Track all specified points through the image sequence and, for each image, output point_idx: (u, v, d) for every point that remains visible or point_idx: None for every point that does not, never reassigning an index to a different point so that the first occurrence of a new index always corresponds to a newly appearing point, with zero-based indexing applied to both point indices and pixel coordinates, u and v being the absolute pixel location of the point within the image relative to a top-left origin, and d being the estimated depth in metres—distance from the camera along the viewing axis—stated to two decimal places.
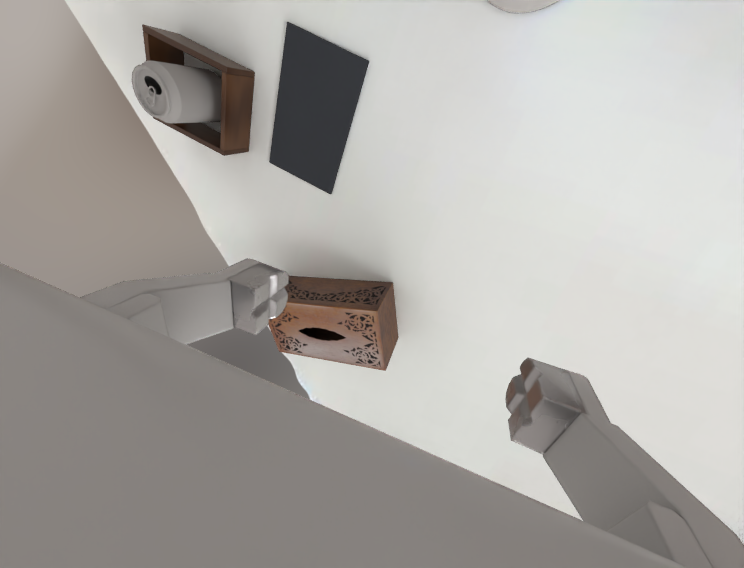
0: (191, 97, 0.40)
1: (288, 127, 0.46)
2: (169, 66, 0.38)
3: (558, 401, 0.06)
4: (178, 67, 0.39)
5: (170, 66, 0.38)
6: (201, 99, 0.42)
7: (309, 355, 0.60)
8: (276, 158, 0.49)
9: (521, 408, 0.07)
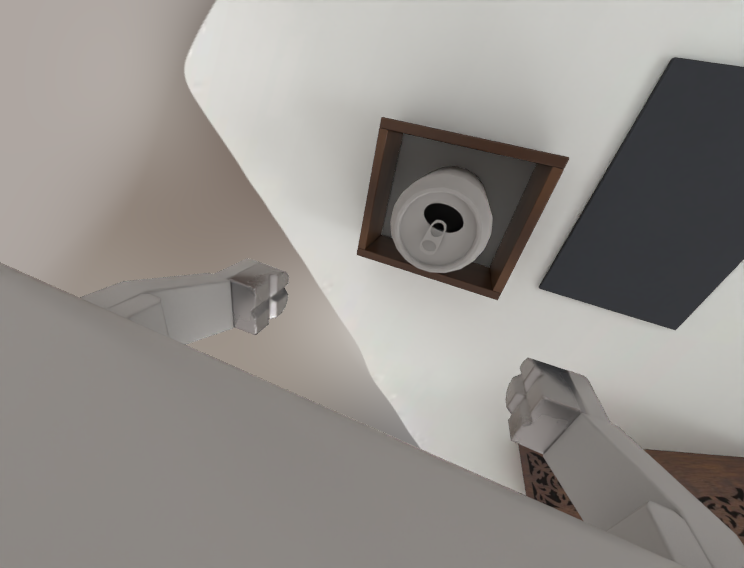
0: None
1: (607, 233, 0.26)
2: (465, 177, 0.20)
3: (558, 401, 0.06)
4: (464, 175, 0.21)
5: (465, 177, 0.20)
6: None
7: None
8: (558, 282, 0.29)
9: (521, 408, 0.07)
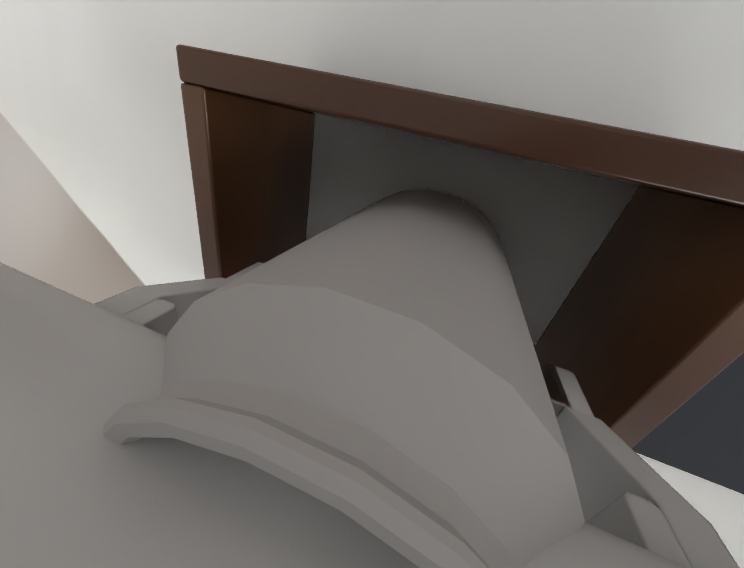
0: None
1: None
2: (439, 283, 0.04)
3: None
4: (443, 249, 0.05)
5: (439, 277, 0.04)
6: None
7: None
8: (662, 440, 0.13)
9: None
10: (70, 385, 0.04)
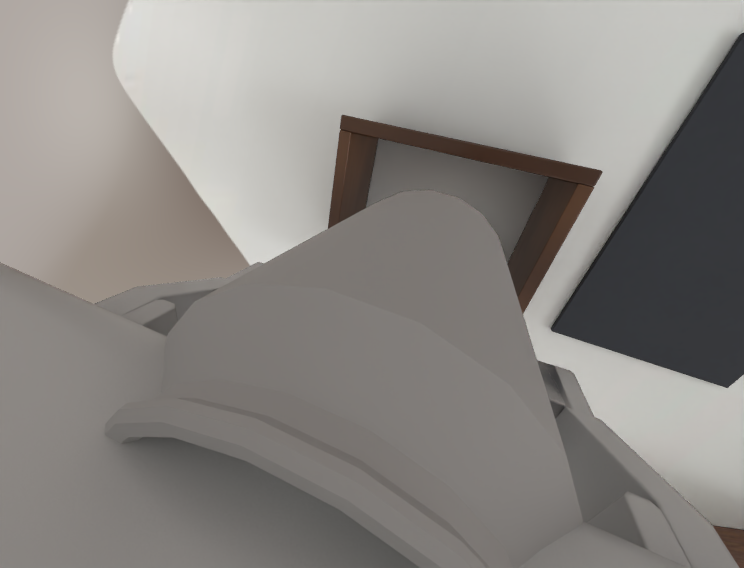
0: None
1: (641, 267, 0.20)
2: (438, 283, 0.04)
3: None
4: (442, 249, 0.05)
5: (437, 277, 0.04)
6: None
7: None
8: (576, 324, 0.23)
9: None
10: (70, 385, 0.04)
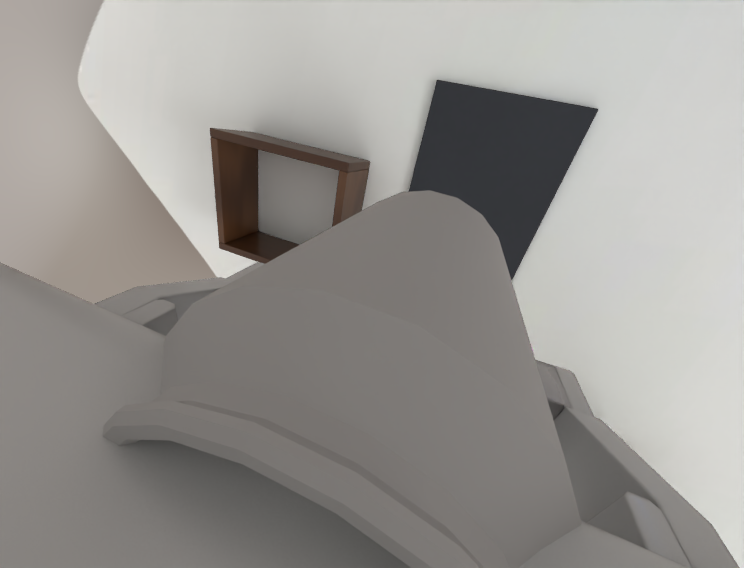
0: None
1: None
2: (437, 285, 0.04)
3: None
4: (441, 251, 0.05)
5: (436, 279, 0.04)
6: None
7: None
8: None
9: None
10: (70, 385, 0.04)
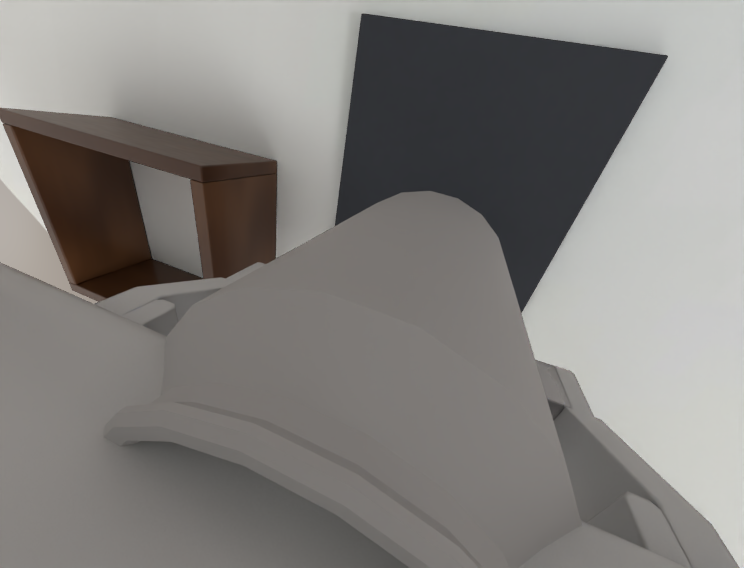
0: None
1: None
2: (437, 286, 0.04)
3: None
4: (441, 251, 0.05)
5: (436, 280, 0.04)
6: None
7: None
8: None
9: None
10: (70, 385, 0.04)
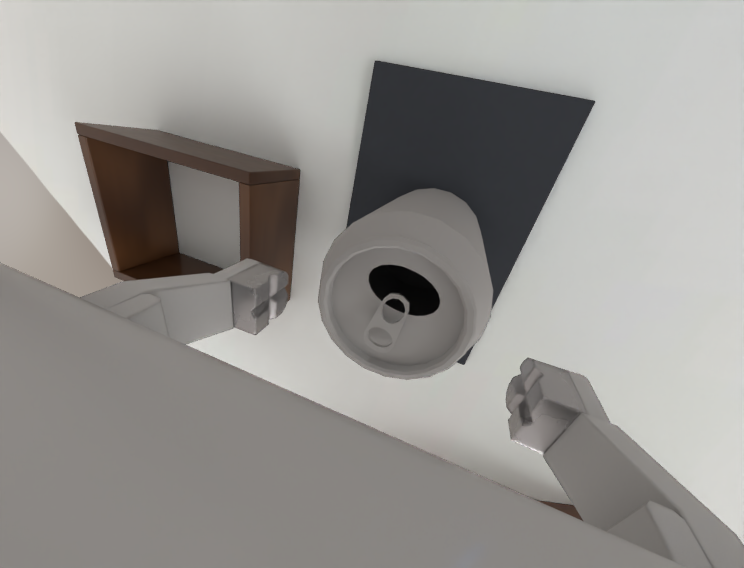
0: None
1: None
2: (443, 215, 0.11)
3: (558, 401, 0.06)
4: (444, 208, 0.12)
5: (443, 214, 0.11)
6: None
7: None
8: None
9: (521, 408, 0.07)
10: (70, 385, 0.04)
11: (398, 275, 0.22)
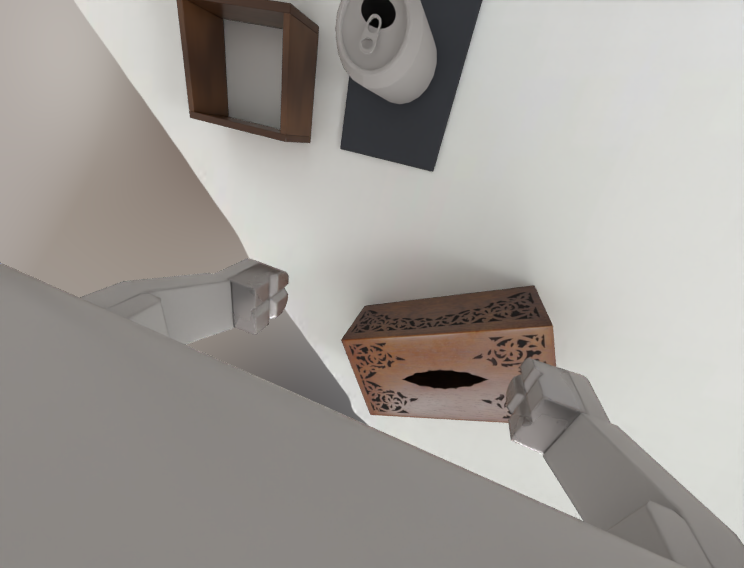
0: (426, 32, 0.23)
1: None
2: None
3: (558, 401, 0.06)
4: None
5: None
6: (429, 43, 0.24)
7: (420, 415, 0.40)
8: (350, 140, 0.36)
9: (521, 408, 0.07)
10: (70, 385, 0.04)
11: None
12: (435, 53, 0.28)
